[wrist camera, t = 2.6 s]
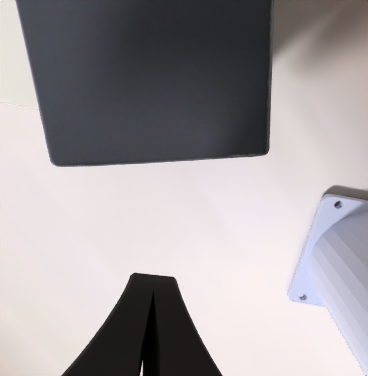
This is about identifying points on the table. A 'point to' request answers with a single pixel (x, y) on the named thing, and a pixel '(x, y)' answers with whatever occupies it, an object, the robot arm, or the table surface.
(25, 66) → the mat
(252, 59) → the small box
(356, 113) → the table surface
